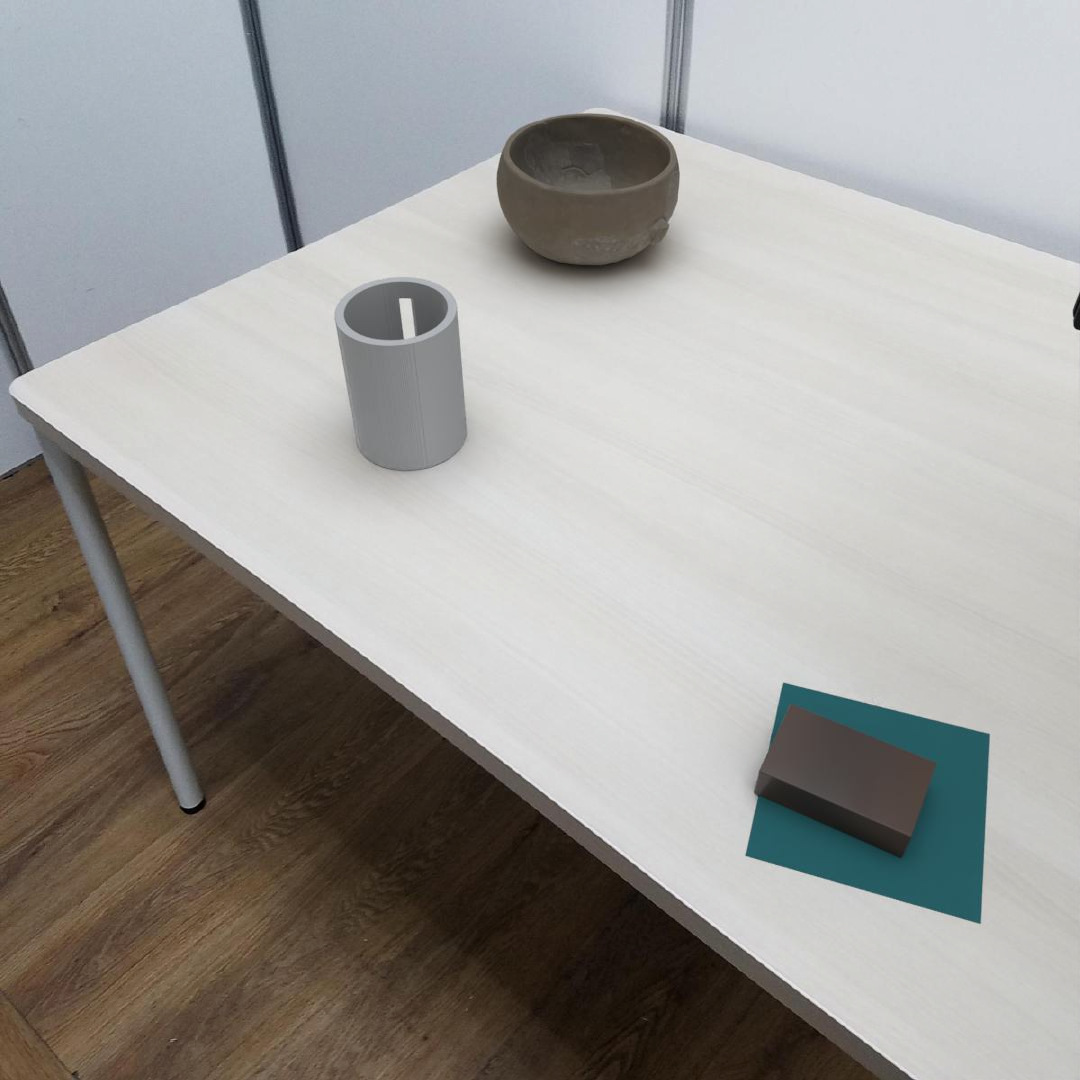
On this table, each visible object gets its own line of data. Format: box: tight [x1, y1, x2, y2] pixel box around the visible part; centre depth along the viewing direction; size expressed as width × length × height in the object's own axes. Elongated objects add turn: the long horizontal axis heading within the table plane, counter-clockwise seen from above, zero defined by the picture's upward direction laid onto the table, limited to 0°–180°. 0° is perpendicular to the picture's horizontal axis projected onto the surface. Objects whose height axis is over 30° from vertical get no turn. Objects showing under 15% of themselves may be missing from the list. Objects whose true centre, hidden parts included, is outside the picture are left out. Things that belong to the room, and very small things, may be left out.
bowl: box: [496, 112, 681, 266], centre depth 106 cm, size 17×18×10 cm
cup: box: [333, 276, 468, 471], centre depth 84 cm, size 9×9×12 cm
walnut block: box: [753, 704, 936, 858], centre depth 64 cm, size 9×6×2 cm, turn 61°
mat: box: [745, 682, 991, 924], centre depth 64 cm, size 13×13×1 cm
